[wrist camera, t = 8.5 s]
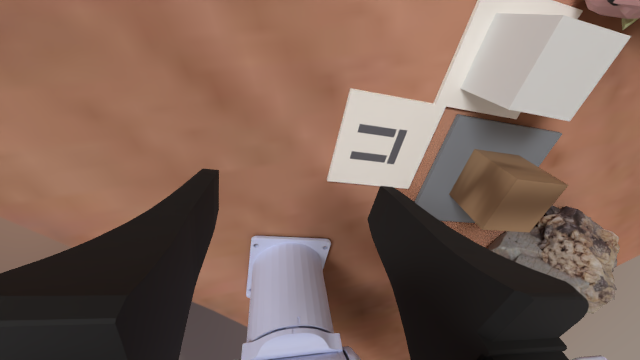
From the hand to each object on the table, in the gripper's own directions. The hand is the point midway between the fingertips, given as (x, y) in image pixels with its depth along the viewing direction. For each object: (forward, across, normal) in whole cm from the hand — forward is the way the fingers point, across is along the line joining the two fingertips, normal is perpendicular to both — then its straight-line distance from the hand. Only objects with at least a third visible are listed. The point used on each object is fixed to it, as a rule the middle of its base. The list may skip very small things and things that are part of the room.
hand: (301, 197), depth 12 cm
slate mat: (+10, -19, +3) cm, 22 cm away
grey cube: (+10, -15, -7) cm, 19 cm away
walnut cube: (+10, -19, +3) cm, 21 cm away
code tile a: (+10, -8, +1) cm, 13 cm away
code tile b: (+10, -15, -7) cm, 19 cm away
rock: (+10, -30, +10) cm, 33 cm away
